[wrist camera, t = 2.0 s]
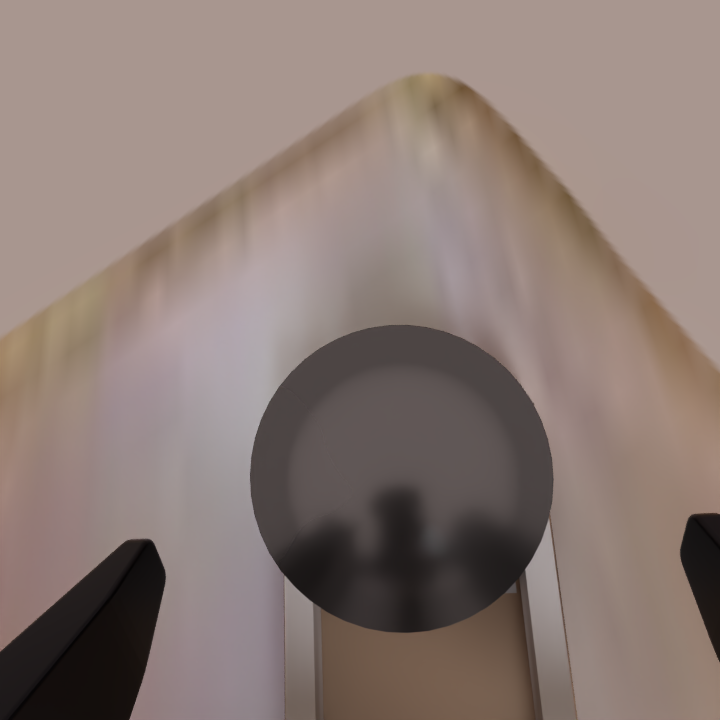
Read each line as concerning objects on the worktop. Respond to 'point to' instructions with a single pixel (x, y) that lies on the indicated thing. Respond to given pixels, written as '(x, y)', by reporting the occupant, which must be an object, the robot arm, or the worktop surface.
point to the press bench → (436, 660)
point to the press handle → (401, 479)
